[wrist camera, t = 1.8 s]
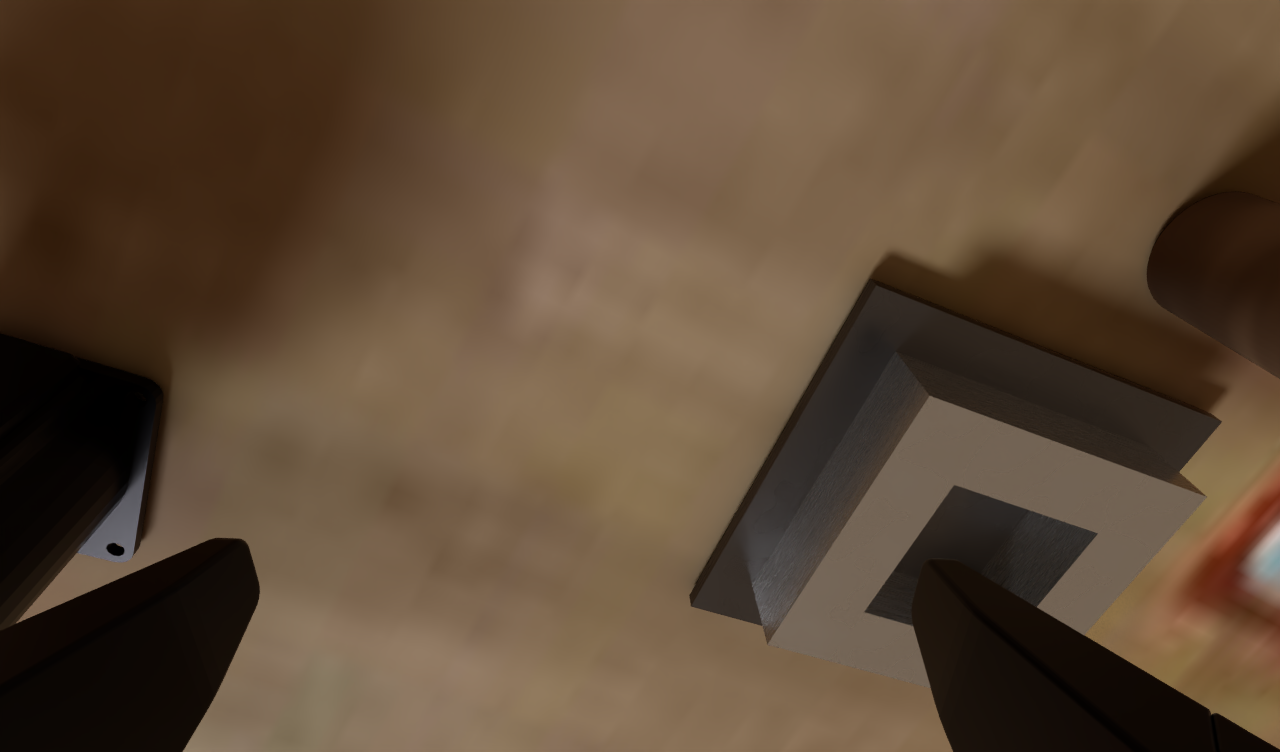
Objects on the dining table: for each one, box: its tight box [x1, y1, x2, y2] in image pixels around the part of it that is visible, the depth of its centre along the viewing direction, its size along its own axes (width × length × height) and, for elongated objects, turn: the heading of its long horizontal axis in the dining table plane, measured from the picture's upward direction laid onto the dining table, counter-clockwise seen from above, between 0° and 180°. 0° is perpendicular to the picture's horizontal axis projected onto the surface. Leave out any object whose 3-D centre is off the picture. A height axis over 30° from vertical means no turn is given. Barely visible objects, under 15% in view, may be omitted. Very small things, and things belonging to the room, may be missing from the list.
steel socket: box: [689, 279, 1222, 688], centre depth 24 cm, size 12×12×3 cm
